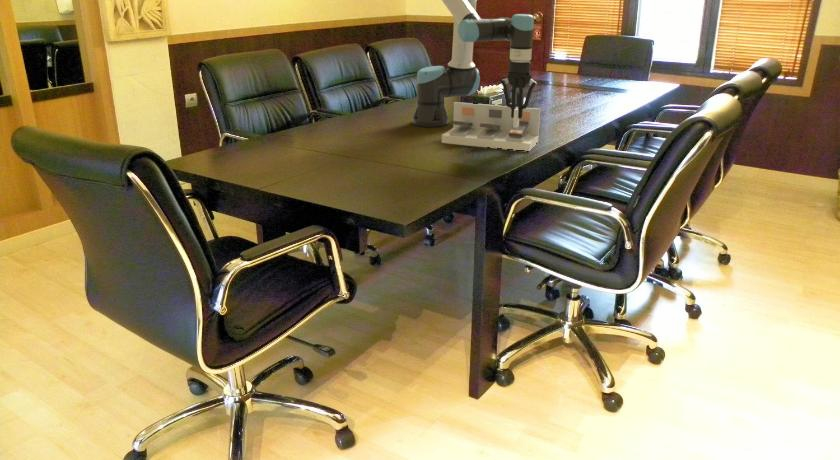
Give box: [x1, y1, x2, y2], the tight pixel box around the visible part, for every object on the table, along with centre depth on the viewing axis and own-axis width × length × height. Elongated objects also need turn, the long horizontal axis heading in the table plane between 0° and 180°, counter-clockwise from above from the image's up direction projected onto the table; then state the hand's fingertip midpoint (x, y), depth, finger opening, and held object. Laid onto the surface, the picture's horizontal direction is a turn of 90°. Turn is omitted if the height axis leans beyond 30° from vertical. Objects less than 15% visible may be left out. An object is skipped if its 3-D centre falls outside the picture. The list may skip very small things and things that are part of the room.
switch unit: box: [441, 101, 541, 152], centre depth 242 cm, size 34×14×13 cm, turn 68°
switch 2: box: [480, 123, 500, 129], centre depth 242 cm, size 5×10×1 cm, turn 158°
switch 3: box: [509, 121, 529, 137], centre depth 238 cm, size 5×10×1 cm, turn 158°
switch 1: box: [451, 120, 473, 126], centre depth 246 cm, size 5×10×1 cm, turn 158°
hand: (516, 126), depth 235 cm, fingers closed
